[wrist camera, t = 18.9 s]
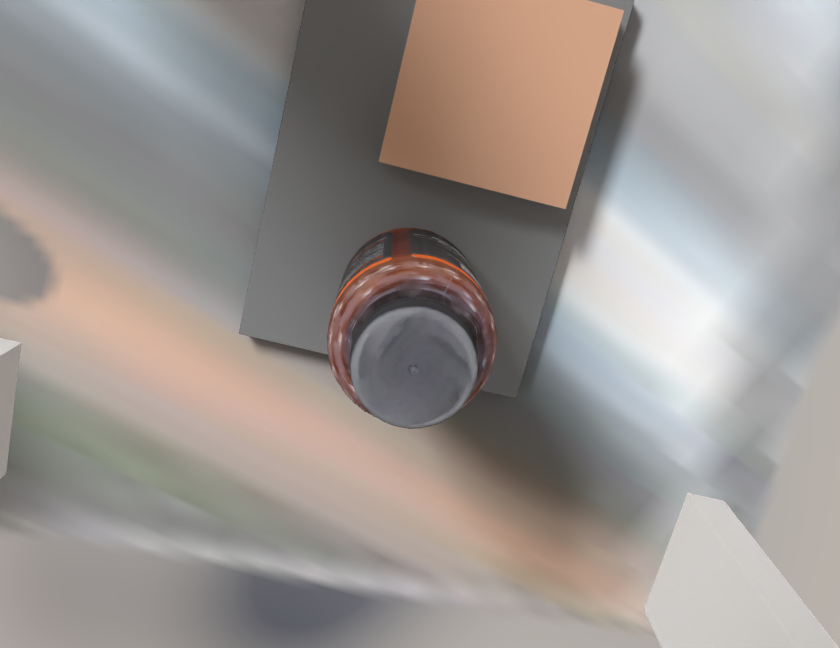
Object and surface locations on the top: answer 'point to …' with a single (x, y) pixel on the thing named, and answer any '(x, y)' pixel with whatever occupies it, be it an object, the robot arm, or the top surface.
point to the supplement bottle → (411, 329)
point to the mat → (386, 192)
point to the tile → (500, 92)
